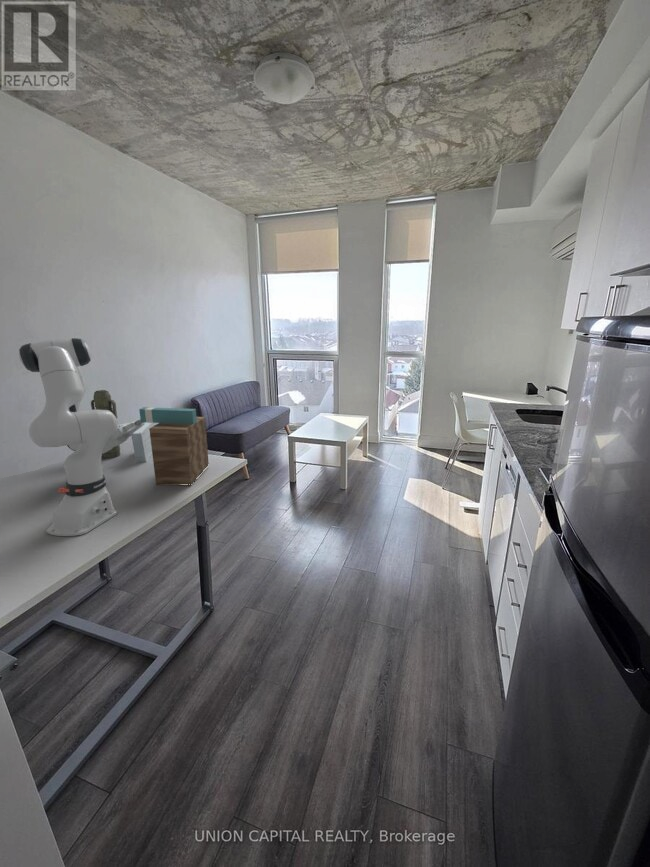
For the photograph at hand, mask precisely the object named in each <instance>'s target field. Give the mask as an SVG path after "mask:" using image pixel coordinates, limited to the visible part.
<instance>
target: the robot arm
mask: <svg viewBox="0 0 650 867" xmlns="http://www.w3.org/2000/svg"><path fill="white" fill-rule="evenodd" d="M18 352H19V353H18V358H19V361H20V363H21V364H22V366H24V368H25V369H26V370H27V371H30V372H31V373H39V375H40V378H41V382H42V385H43V389H44V394H45V405H44V407H43V410H42V411H41V413H40V414H39V415H38V416H37V417H36V418H34V420H33V421H32V422H30V425H29V428H28V435H29V437H30V439H31V441H32V442H33V443H34V444H35V445H36V446H38V447H40V448H59V447H65V446H67V448H69V449H70V450H71V451H73V452H72V453H71V454H68V456H67V457H66V458H65V459H64V461H63V468H64V473H65V477H66V482H65V487H59V488H58V493H59V494H64V496H63V498H62V499H61V501H60V503H59V504H58V506H57V507H56V509H55V511H54V512H53V516H52V517H53V520H52V521H53V522H52V524H51V525H49V527H47V529H46V534H48V535H50V536H57V537H58V536H59V537H77V536H81V535H85V534H87V533H90V531H92V530H94V529H96V528H97V527H99V526H100V525H101V524H103V523H105V522H106V521H108V520H110V519H112V518H113V517H114V516H116V515H117V514H118V511H117V510H116V509H115V508H114V504H113V501H112V498H111V495H110V493H109V491H108V489H107V487H106V486H107V480H106V479H107V478H106V477H105V475H104V473H103V472H104V471H103V466H102V465H103V463H102V454H103V453H106V452H108V451H109V450H111V449H112V448H113V447H115V446H118V445H121V444H123V443H125V442H126V441H127V440H128V439H129V438H130V437H132V436H131V435H133V434H134V432H135V431H136V430H138V429H139V428H141V427H142V426H143V425H144V424H145V423H146V422H141V419H140V417H138V418H137V419H136V418H135V419H134V420H132V421H129V422H124V423H120V424H119V422H118V418H117V419H116V417H115V415H114V414H113V413H112V412H110V411H109V410H92V409H88V410H87V409H86V410H80V409H79V408H80V405H81V402H82V400H83V398H84V396H85V393H86V390H87V386H86V385H87V384H86V378H85V376H84V373H83V370H82V368H81V367H83V366H86V365H89V363H90V362H91V360H92V359H91V358H92V351H91V348H90V346H89V345H88V344H87V343H86V342H85V340H83V339H82V338H75V337H74V338H72V337H71V338H68V339H67V338H63V339H49V340H43V341H37V342H34V343H32V342H31V343H25V344H23V345H21V347H20V348H19V350H18ZM80 366H81V367H80ZM79 410H80V411H79Z"/></svg>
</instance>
